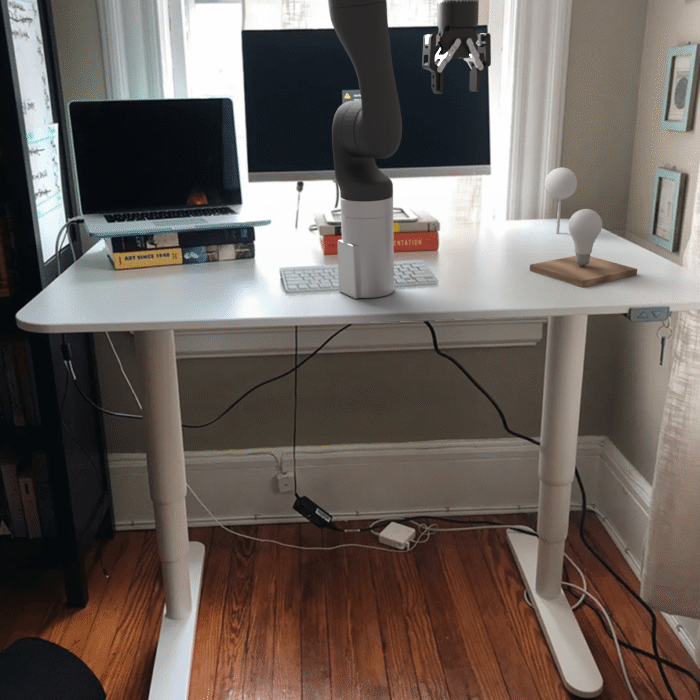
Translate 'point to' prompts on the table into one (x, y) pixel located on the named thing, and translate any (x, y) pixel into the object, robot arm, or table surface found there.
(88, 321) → the table surface
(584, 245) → the lightbulb
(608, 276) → the walnut board
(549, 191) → the lollipop
